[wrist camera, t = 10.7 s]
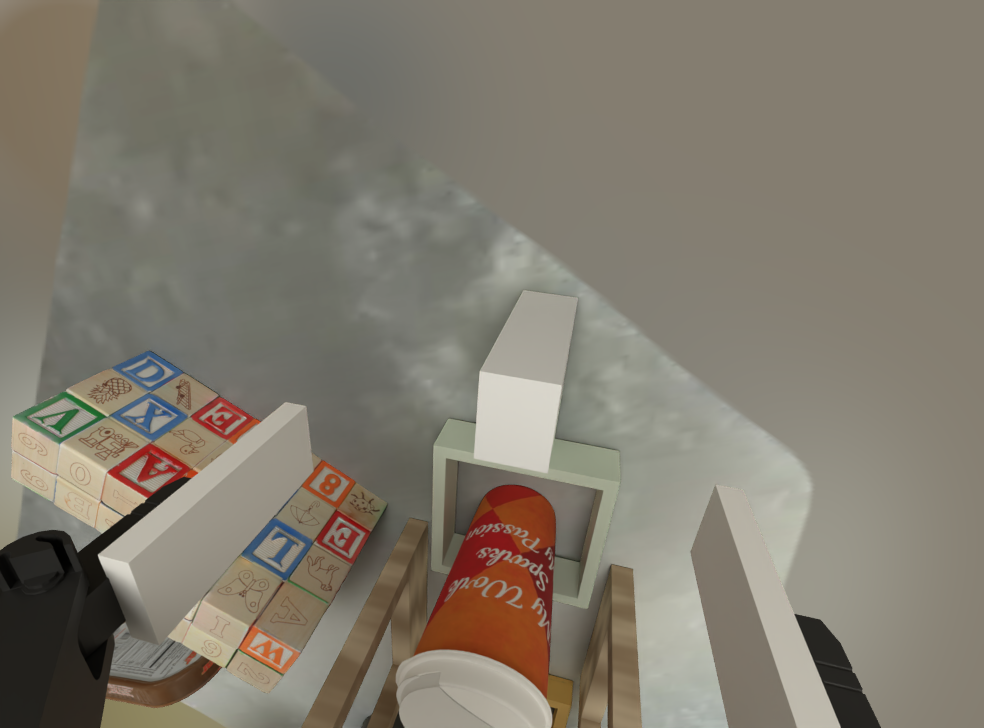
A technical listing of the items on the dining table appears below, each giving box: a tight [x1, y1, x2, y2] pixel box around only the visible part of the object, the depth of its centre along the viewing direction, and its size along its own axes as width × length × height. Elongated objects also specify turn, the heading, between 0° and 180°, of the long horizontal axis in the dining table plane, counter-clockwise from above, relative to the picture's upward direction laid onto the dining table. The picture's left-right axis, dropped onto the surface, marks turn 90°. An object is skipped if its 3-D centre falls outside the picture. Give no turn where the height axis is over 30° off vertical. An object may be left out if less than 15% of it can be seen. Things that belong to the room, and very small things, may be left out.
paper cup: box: [396, 485, 556, 728], centre depth 27 cm, size 8×8×14 cm
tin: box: [105, 622, 222, 708], centre depth 47 cm, size 15×3×8 cm, turn 101°
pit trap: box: [547, 674, 573, 728], centre depth 42 cm, size 7×13×2 cm, turn 86°
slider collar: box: [431, 290, 621, 609], centre depth 26 cm, size 20×11×10 cm, turn 176°
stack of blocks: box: [11, 351, 387, 694], centre depth 31 cm, size 21×6×12 cm, turn 58°
